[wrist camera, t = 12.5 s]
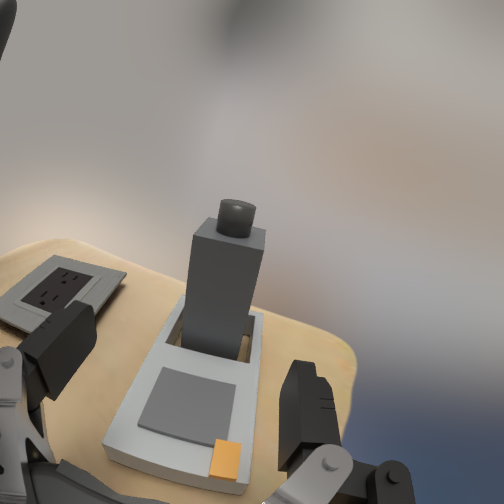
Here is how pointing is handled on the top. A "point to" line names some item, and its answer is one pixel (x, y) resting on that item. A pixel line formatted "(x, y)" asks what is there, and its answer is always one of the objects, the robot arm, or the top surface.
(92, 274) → the electrical outlet
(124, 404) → the grey rectangular frame
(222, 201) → the plug
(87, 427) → the top surface
